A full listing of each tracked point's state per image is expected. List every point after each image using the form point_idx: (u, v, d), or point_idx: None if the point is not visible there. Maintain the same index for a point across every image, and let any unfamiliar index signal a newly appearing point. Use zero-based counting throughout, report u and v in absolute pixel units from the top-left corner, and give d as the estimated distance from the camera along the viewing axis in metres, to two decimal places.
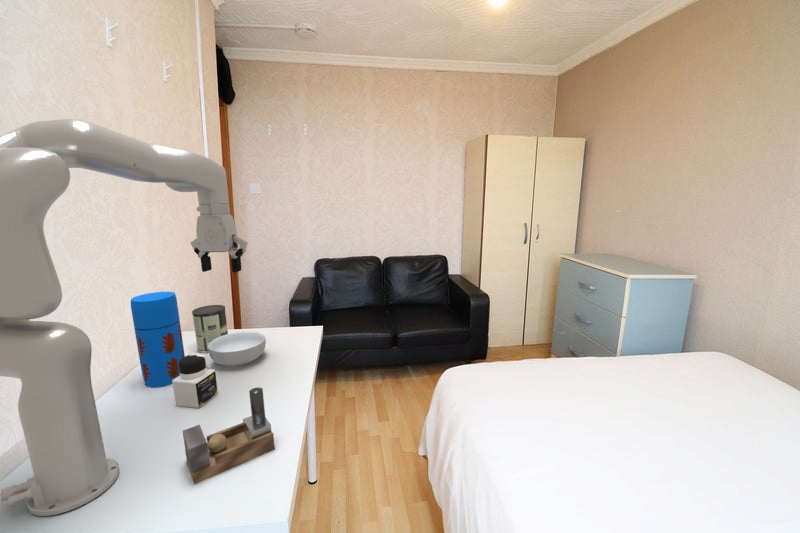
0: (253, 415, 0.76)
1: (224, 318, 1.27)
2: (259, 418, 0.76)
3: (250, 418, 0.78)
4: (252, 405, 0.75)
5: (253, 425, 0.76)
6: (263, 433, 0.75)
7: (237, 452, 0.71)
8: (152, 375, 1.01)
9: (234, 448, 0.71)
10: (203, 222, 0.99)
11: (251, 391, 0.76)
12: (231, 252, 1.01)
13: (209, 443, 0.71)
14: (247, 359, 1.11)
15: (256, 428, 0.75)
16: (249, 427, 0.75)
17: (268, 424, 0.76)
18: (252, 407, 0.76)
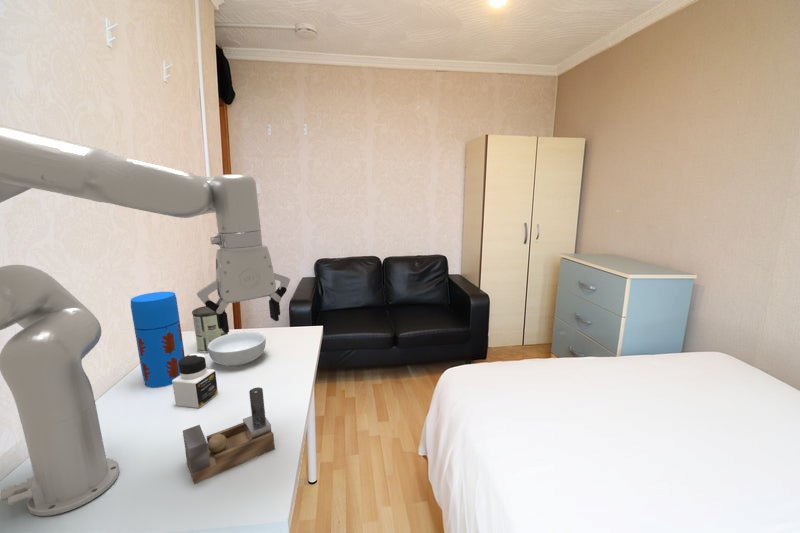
0: (253, 415, 0.76)
1: None
2: (259, 418, 0.76)
3: (250, 418, 0.78)
4: (252, 405, 0.75)
5: (253, 425, 0.76)
6: (263, 433, 0.75)
7: (237, 452, 0.71)
8: (152, 375, 1.01)
9: (234, 448, 0.71)
10: (237, 259, 0.68)
11: (251, 391, 0.76)
12: (274, 294, 0.74)
13: (209, 443, 0.71)
14: (247, 359, 1.11)
15: (256, 428, 0.75)
16: (249, 427, 0.75)
17: (268, 424, 0.76)
18: (252, 407, 0.76)
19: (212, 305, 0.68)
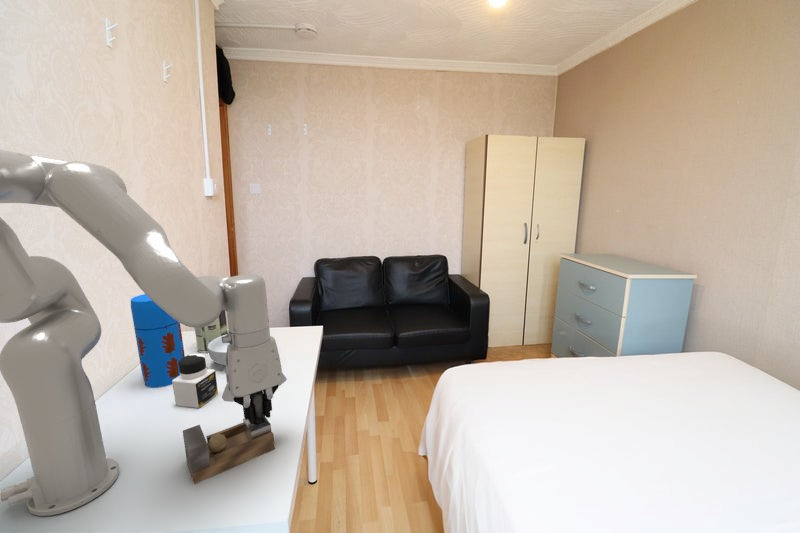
0: None
1: (224, 318, 1.27)
2: (259, 418, 0.76)
3: None
4: (252, 405, 0.75)
5: (253, 425, 0.76)
6: (263, 433, 0.75)
7: (237, 452, 0.71)
8: (152, 375, 1.01)
9: (234, 448, 0.71)
10: (246, 356, 0.71)
11: None
12: (269, 390, 0.77)
13: (209, 443, 0.71)
14: None
15: (256, 428, 0.75)
16: (249, 427, 0.75)
17: (268, 424, 0.76)
18: None
19: (240, 400, 0.74)
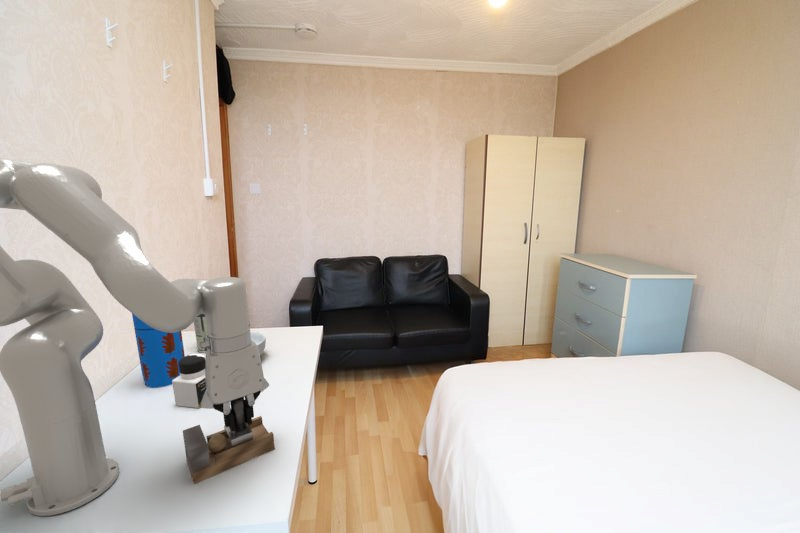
0: (234, 422, 0.74)
1: None
2: (240, 425, 0.74)
3: None
4: (233, 412, 0.73)
5: (234, 432, 0.74)
6: (244, 441, 0.73)
7: (237, 452, 0.71)
8: (152, 375, 1.01)
9: (234, 448, 0.71)
10: (225, 362, 0.69)
11: None
12: (251, 397, 0.74)
13: (209, 443, 0.71)
14: None
15: (236, 436, 0.73)
16: (230, 435, 0.73)
17: (249, 431, 0.74)
18: None
19: (220, 407, 0.71)
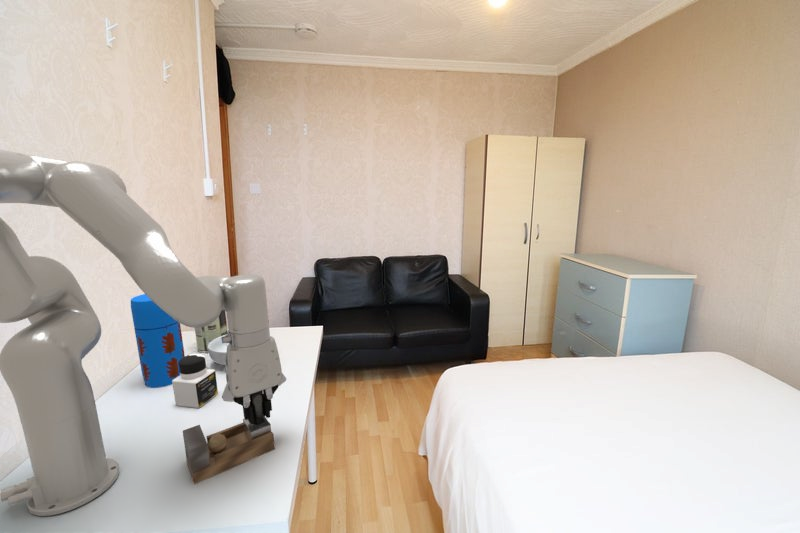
0: None
1: (224, 318, 1.27)
2: (259, 418, 0.76)
3: None
4: (252, 405, 0.75)
5: (253, 425, 0.76)
6: (263, 433, 0.75)
7: (237, 452, 0.71)
8: (152, 375, 1.01)
9: (234, 448, 0.71)
10: (246, 356, 0.71)
11: None
12: (269, 390, 0.77)
13: (209, 443, 0.71)
14: None
15: (256, 428, 0.75)
16: (249, 427, 0.75)
17: (268, 424, 0.76)
18: None
19: (240, 400, 0.74)
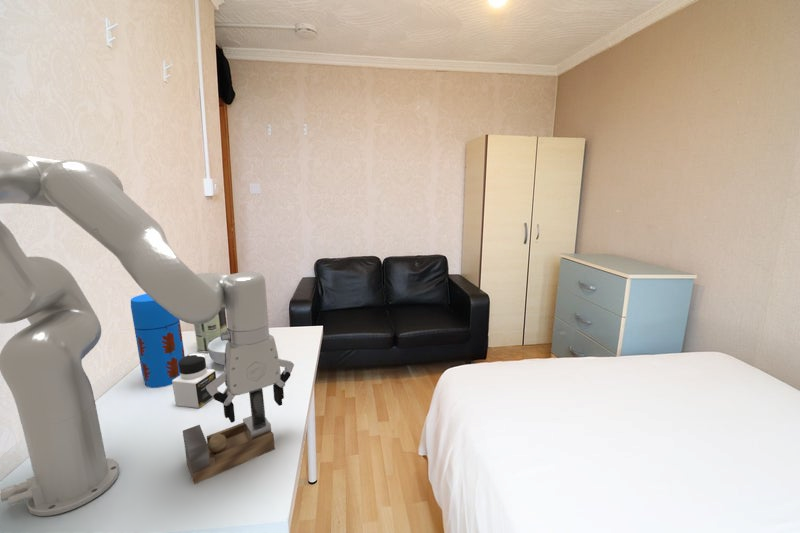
0: (253, 415, 0.76)
1: (224, 318, 1.27)
2: (259, 418, 0.76)
3: (250, 418, 0.78)
4: (252, 405, 0.75)
5: (253, 425, 0.76)
6: (263, 433, 0.75)
7: (237, 452, 0.71)
8: (152, 375, 1.01)
9: (234, 448, 0.71)
10: (245, 354, 0.71)
11: (251, 391, 0.76)
12: (278, 381, 0.78)
13: (209, 443, 0.71)
14: None
15: (256, 428, 0.75)
16: (249, 427, 0.75)
17: (268, 424, 0.76)
18: (252, 407, 0.76)
19: (220, 397, 0.71)
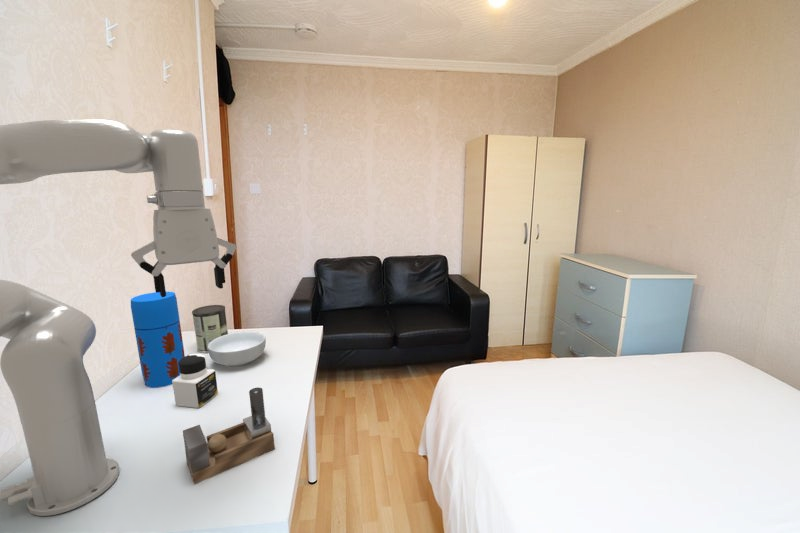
0: (253, 415, 0.76)
1: (224, 318, 1.27)
2: (259, 418, 0.76)
3: (250, 418, 0.78)
4: (252, 405, 0.75)
5: (253, 425, 0.76)
6: (263, 433, 0.75)
7: (237, 452, 0.71)
8: (152, 375, 1.01)
9: (234, 448, 0.71)
10: (174, 219, 0.65)
11: (251, 391, 0.76)
12: (217, 260, 0.71)
13: (209, 443, 0.71)
14: (247, 359, 1.11)
15: (256, 428, 0.75)
16: (249, 427, 0.75)
17: (268, 424, 0.76)
18: (252, 407, 0.76)
19: (147, 267, 0.65)
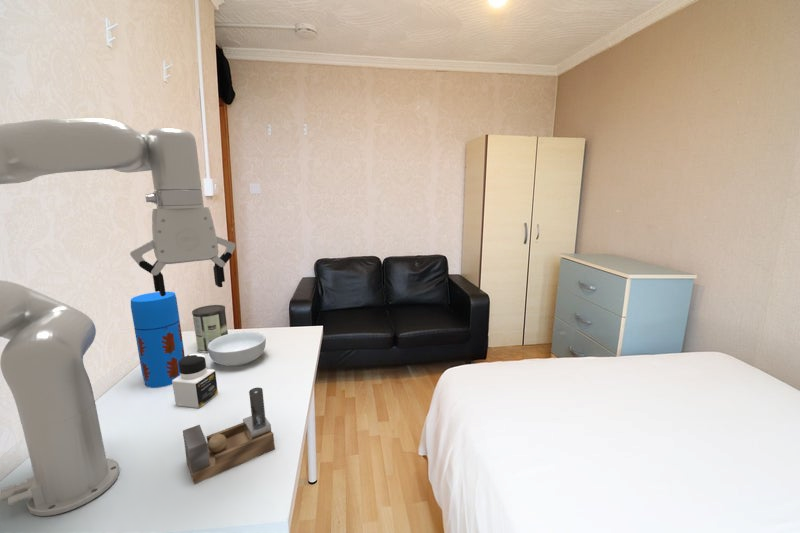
0: (253, 415, 0.76)
1: (224, 318, 1.27)
2: (259, 418, 0.76)
3: (250, 418, 0.78)
4: (252, 405, 0.75)
5: (253, 425, 0.76)
6: (263, 433, 0.75)
7: (237, 452, 0.71)
8: (152, 375, 1.01)
9: (234, 448, 0.71)
10: (173, 218, 0.65)
11: (251, 391, 0.76)
12: (217, 259, 0.71)
13: (209, 443, 0.71)
14: (247, 359, 1.11)
15: (256, 428, 0.75)
16: (249, 427, 0.75)
17: (268, 424, 0.76)
18: (252, 407, 0.76)
19: (147, 266, 0.65)
